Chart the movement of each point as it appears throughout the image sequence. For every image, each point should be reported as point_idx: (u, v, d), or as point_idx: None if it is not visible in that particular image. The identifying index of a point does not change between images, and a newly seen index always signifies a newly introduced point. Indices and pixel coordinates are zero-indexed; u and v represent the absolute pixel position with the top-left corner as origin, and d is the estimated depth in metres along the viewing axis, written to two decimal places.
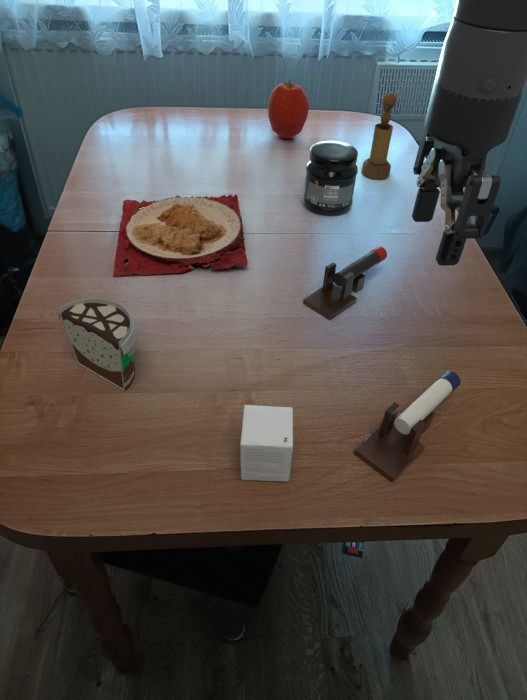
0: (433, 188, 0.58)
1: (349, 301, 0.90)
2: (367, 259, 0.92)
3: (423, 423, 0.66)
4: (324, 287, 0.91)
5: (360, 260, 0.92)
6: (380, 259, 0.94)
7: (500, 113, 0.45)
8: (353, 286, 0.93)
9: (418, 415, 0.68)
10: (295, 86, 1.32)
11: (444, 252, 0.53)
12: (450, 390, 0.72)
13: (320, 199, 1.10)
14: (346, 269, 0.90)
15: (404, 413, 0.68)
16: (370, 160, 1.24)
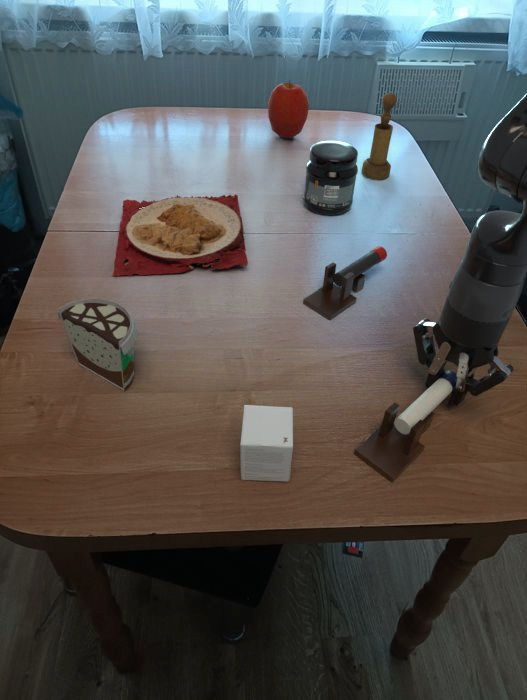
0: (442, 370, 0.74)
1: (349, 301, 0.90)
2: (367, 259, 0.92)
3: (423, 423, 0.66)
4: (324, 287, 0.91)
5: (360, 260, 0.92)
6: (380, 259, 0.94)
7: None
8: (353, 286, 0.93)
9: (418, 415, 0.68)
10: (295, 86, 1.32)
11: (455, 400, 0.73)
12: (450, 390, 0.72)
13: (320, 199, 1.10)
14: (346, 269, 0.90)
15: (404, 413, 0.68)
16: (370, 160, 1.24)
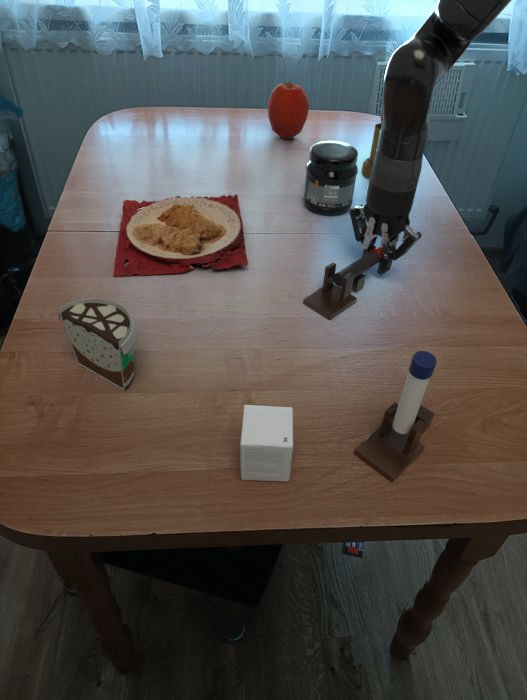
0: (373, 246, 0.95)
1: (349, 301, 0.90)
2: (367, 259, 0.92)
3: (423, 423, 0.66)
4: (324, 287, 0.91)
5: (360, 260, 0.92)
6: None
7: (414, 194, 0.85)
8: (353, 286, 0.93)
9: (406, 423, 0.65)
10: (295, 86, 1.32)
11: (383, 268, 0.95)
12: (427, 380, 0.60)
13: (320, 199, 1.10)
14: (346, 269, 0.90)
15: (394, 421, 0.67)
16: (370, 160, 1.24)
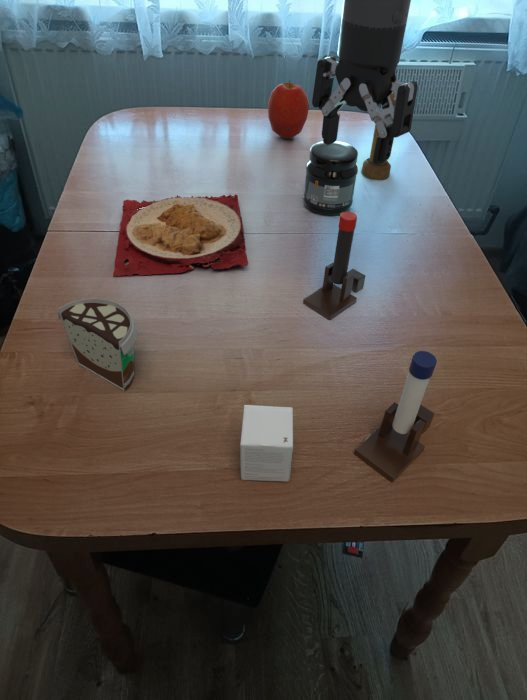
0: (335, 113, 0.73)
1: (349, 301, 0.90)
2: (341, 247, 0.84)
3: (423, 423, 0.66)
4: (324, 287, 0.91)
5: (337, 252, 0.85)
6: (352, 230, 0.82)
7: (402, 36, 0.62)
8: (353, 286, 0.93)
9: (406, 423, 0.65)
10: (295, 86, 1.32)
11: (380, 153, 0.70)
12: (427, 380, 0.60)
13: (320, 199, 1.10)
14: (334, 272, 0.87)
15: (394, 421, 0.67)
16: (370, 160, 1.24)
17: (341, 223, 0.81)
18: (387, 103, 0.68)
